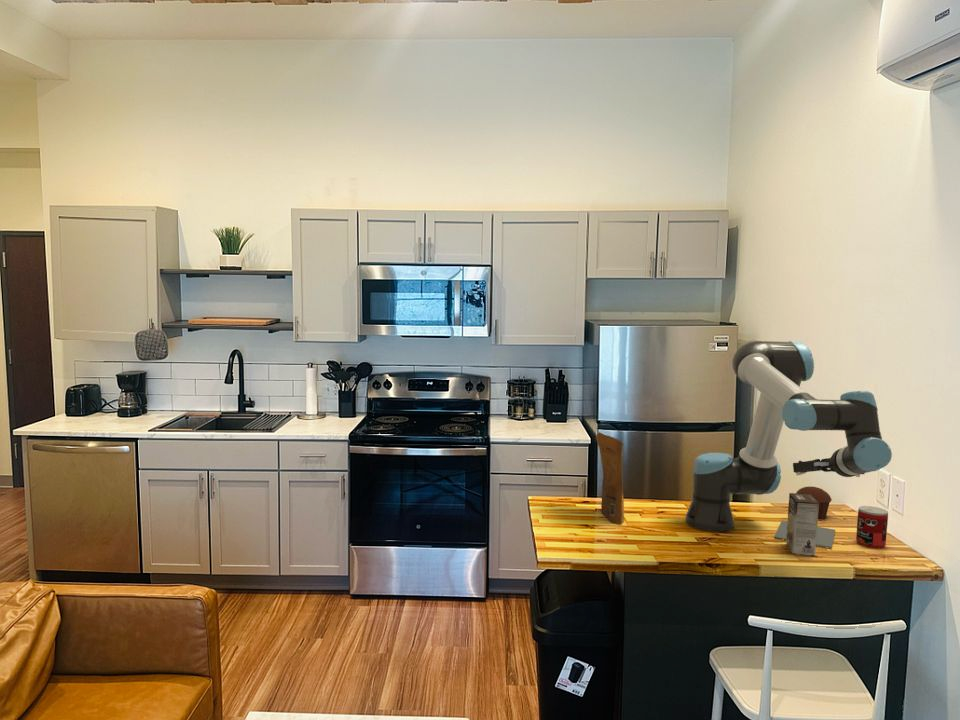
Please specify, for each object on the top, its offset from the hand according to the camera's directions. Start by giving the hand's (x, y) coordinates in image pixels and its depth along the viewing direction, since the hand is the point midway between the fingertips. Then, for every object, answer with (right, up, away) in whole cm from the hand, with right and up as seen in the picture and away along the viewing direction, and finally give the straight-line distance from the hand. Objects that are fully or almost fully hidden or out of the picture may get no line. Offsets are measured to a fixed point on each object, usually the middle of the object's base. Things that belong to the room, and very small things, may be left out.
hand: (822, 470), depth 191 cm
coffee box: (-2, -25, +8) cm, 27 cm away
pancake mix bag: (-54, -22, +34) cm, 68 cm away
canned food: (+22, -25, +15) cm, 37 cm away
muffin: (+18, -23, +42) cm, 51 cm away
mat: (+6, -24, +22) cm, 33 cm away
